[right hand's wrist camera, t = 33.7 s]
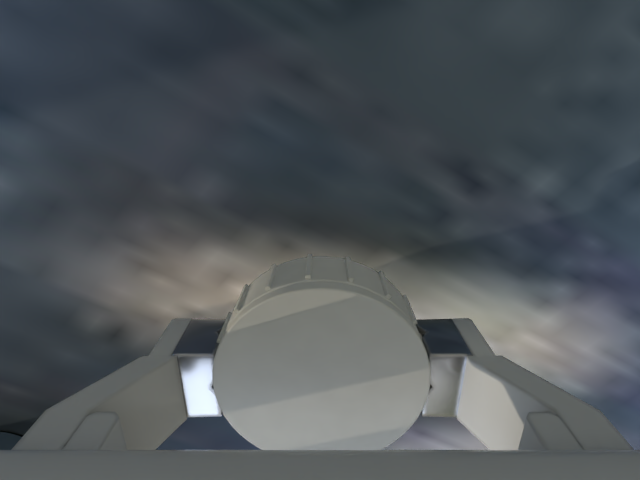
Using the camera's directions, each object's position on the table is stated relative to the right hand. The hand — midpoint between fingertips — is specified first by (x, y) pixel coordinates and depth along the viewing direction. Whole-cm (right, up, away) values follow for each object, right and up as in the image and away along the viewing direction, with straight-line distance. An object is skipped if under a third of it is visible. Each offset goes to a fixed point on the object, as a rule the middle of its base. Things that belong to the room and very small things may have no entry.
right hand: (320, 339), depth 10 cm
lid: (0, 0, -2) cm, 2 cm away
